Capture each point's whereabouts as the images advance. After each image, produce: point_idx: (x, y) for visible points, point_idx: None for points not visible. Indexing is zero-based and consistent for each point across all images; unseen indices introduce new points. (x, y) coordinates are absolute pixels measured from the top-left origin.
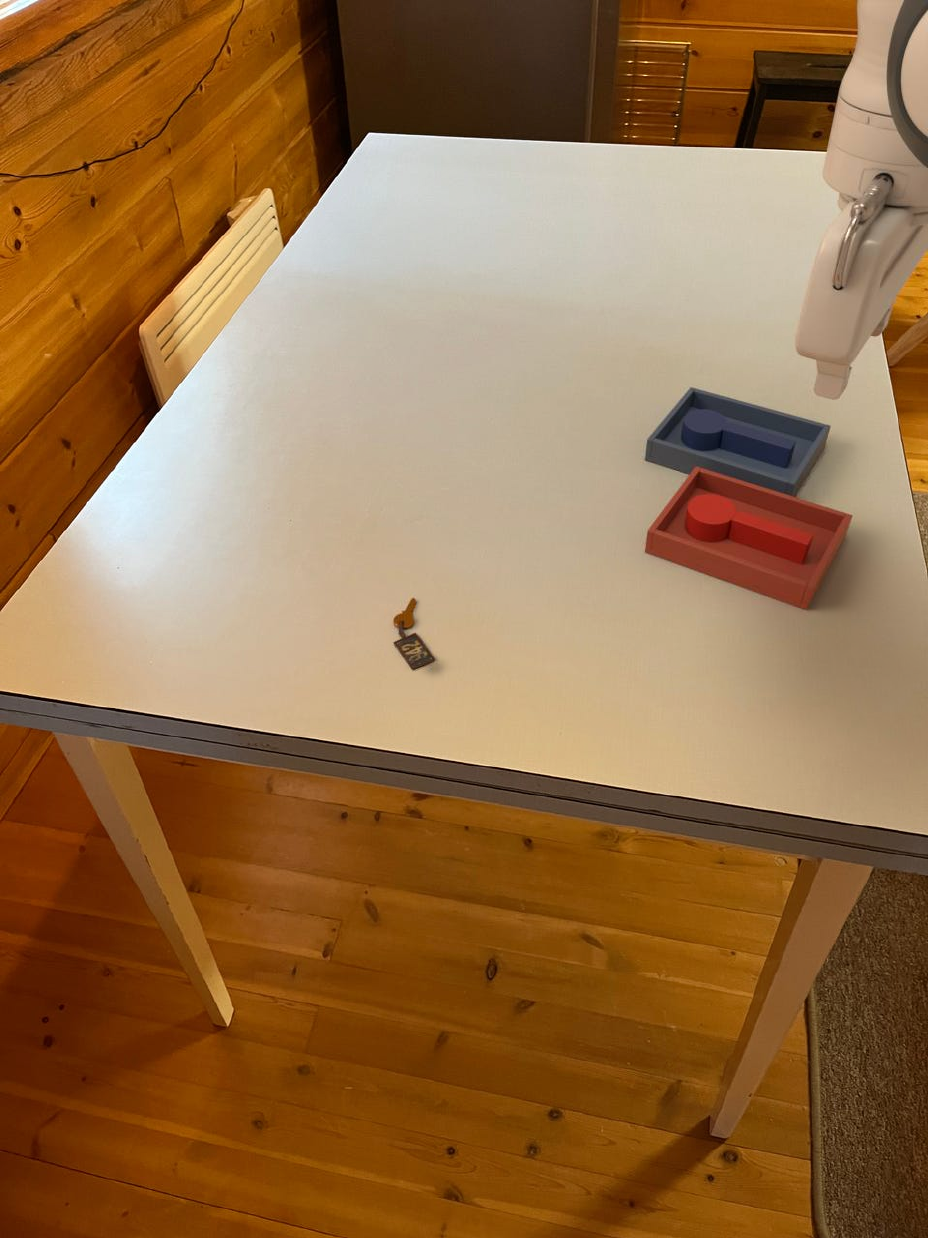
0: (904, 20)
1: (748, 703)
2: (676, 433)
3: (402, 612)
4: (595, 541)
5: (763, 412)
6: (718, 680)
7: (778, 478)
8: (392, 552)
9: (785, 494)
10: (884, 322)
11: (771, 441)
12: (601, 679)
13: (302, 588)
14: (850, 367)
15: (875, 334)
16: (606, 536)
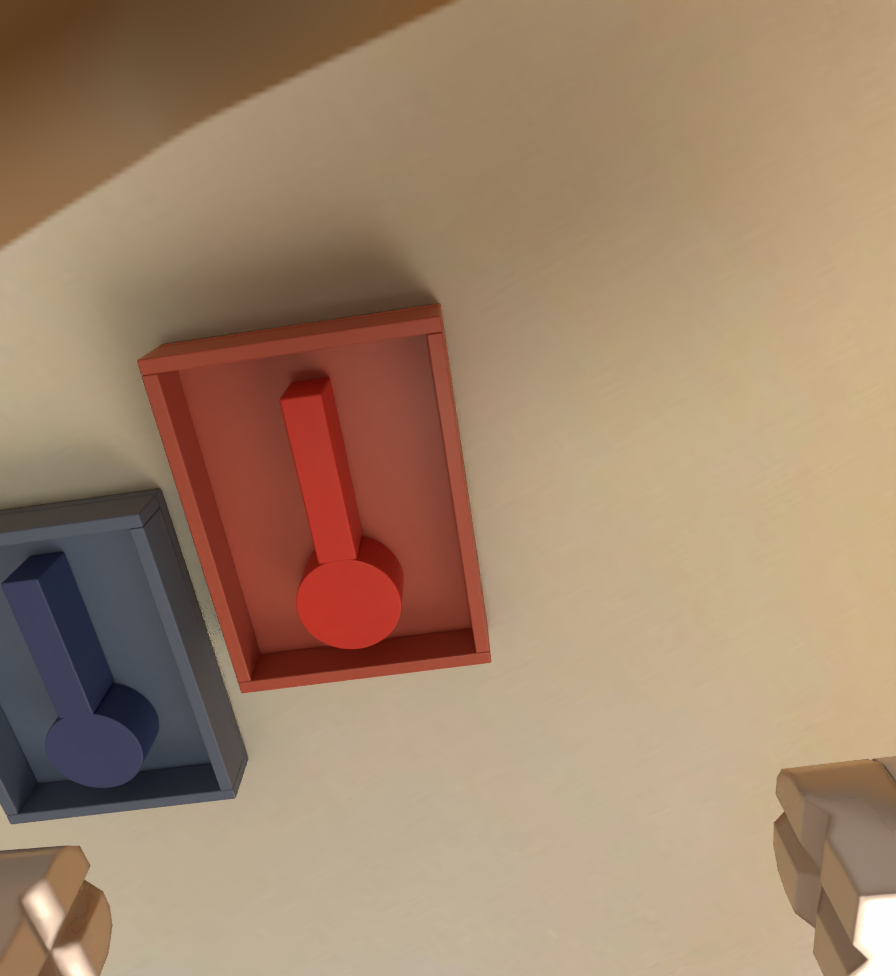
0: None
1: (758, 271)
2: None
3: None
4: (516, 704)
5: None
6: (730, 349)
7: (147, 550)
8: (736, 902)
9: (186, 512)
10: (16, 921)
11: (47, 622)
12: (836, 516)
13: None
14: (864, 899)
15: (77, 861)
16: (492, 697)
